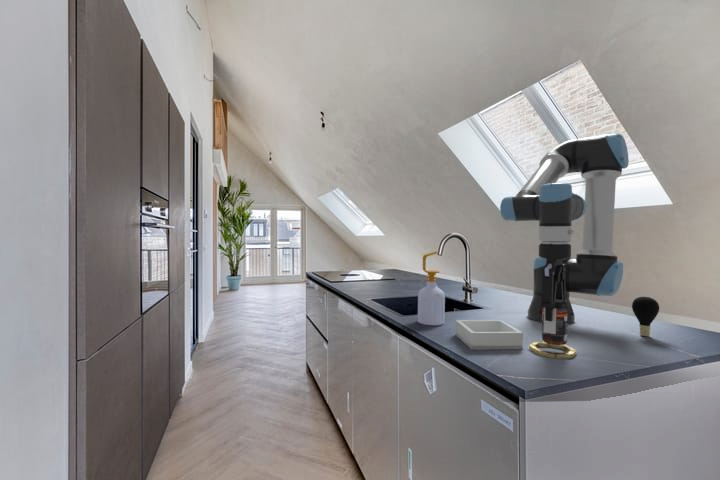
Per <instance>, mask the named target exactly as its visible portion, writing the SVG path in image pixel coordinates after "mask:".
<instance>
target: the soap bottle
mask: <svg viewBox="0 0 720 480" xmlns="http://www.w3.org/2000/svg"><path fill="white" fill-rule="evenodd" d="M436 254H438V251H436V250H435V251H432V252H428V253H425V254H424V255H423V256H422V270H423V272H425V273H426V274H427V276H429V277H428V278H426V286H424V287H423V288H421V289H420V290H419V291H418V294H417V322H418V323H419V324H421V325H424V326H432V327H433V326H434V327H435V326H436V327H437V326H442V325H444V324H445V320H446V319H445V313H446V312H445V309H446V306H445V304H446V294H445V292H444V290H442V289H441V288H440V287H438V286H437V279H435V276H436V275H437V274H439V273H440V271H438V270H426V267H427V266H426V265H427V264H426V260H427V257H429V256H433V255H436Z"/></svg>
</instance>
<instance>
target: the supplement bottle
mask: <svg viewBox="0 0 720 480" xmlns="http://www.w3.org/2000/svg"><path fill="white" fill-rule="evenodd" d="M555 308H556V334H551V333H545V332H544V308H543V309H542V322H541V338H542V339H541V340H542V342H546V343H548V344H552V345H567V343H568V323H567V310H566V309H565V308H564V307H563V300H560V299H556V300H555Z"/></svg>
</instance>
